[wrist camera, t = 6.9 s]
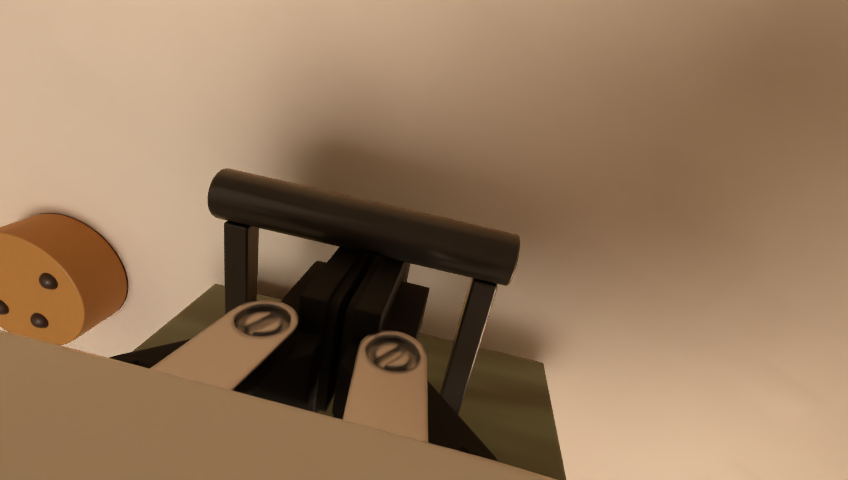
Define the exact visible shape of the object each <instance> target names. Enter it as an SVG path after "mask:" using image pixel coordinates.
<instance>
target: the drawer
mask: <svg viewBox="0 0 848 480" xmlns="http://www.w3.org/2000/svg"><path fill="white" fill-rule="evenodd" d="M208 207H209V210H210V212H211V214H212V215H213V216H214V217H216V218H219V219H223V220H228V221H227V222H225V223H224V265H225V286H223V285H219V284H214V285H213V286H212V287H211V288H210V289H208V290H207V291H206V292H205V293H203V294H202V295H201V296H200V297H199V298H197V299H196V300H195V301H194V302H192V303H191V304H190V305H189V306H188V307H186V308H185V309H184V310H183V311H181V312H180V313H179V314H178V315H177V316H175V317H174V318H173V319H172V320H170V321H169V322H168V323H167V324H166V325H164V326H163V327H162V328H161V329H159V330H158V331H157V332H156V333H155V334H153V335H152V336H151V337H150V338H148V339H147V340H146V341H145V342H144V343H142V344H141V345H140V346H139V347H137V348H136V349H135V350H134V351H133V352H135V351H139V350H144V349H148V348H152V347H157V346H161V345H166V344H170V343H175V342H179V341H183V340H188V339H192V338H193V337H195V336H196V335H198V334H199V333H200V332H202V331H203V330H205V329H206V328H207V327H209V326H210V325H212V324H213V323H214V322H216V321H217V320H219V319H220V318H222V317H223V316H224V315H226V314H227V313H229V312H230V311H231V310H233V309H234V308H236V307H238V306H240V305H242V304H244V303H248V302H251V301H258V300H274V301H278V302H281V299H277V298H273V297H269V296H264V295H260V294H257V276H258V241H259V228H262V229H266V230H270V231H275V232H279V233H283V234H287V235H292V236H296V237H300V238H304V239H309V240H313V241H317V242H322V243H326V244H330V245H334V246H339V247H343V248H347V249H351V250H356V251H360V252H364V253H368V254H373V255H377V256H381V257H385V258H390V259H394V260H398V261H403V262H407V263H411V264H415V265H420V266H424V267H428V268H432V269H437V270H441V271H445V272H449V273H454V274H458V275H462V276H466V277H471V280H470V283H469V287H468V291H467V294H466V298H465V302H464V305H463V309H462V313H461V316H460V320H459V324H458V327H457V331H456V335H455V338H454V341H450V340H446V339H442V338H438V337H434V336H430V335H425V334H421V333H419V336H418V340H417V341H419V342H420V343H421V344H422V346H423V347H424V349H425V350H426V355H427V380H428V381H429V383H430V384H431V385H432V386H433V387H434V388H435V389H436V390H437V392H438V393H439V394H440V395H441V396H442V397H443V398H444V399H445V401H446V402H447V403H448V404H449V405H450V406H451V407H452V408H453V410H454V411H455V412H456V413H457V414H458V415H459V416H460V417H461V419H462V420H463V421H464V422H465V423H466V424H467V425H468V426H469V428H470V429H471V430H472V431H473V432H474V433H475V434H476V436H477V437H478V438H479V439H480V440H481V441H482V442H483V443H484V445H485V446H486V447H487V448H488V449H489V450H490V451H491V452H492V454H493V455H494V456H495V457H496V459H497V460H498V462H501V463H504V464H507V465H511V466H514V467H517V468H520V469H524V470H527V471H530V472H534V473H537V474H540V475H543V476H547V477H550V478H553V479H557V480H566V476H565V471H564V466H563V461H562V456H561V451H560V446H559V440H558V435H557V430H556V425H555V420H554V415H553V410H552V405H551V400H550V395H549V390H548V385H547V380H546V374H545V369H544V364H543V363H541V362H537V361H533V360H529V359H525V358H520V357H516V356H512V355H508V354H504V353H500V352H496V351H492V350H487V349H483V348H479V346H480V343H481V340H482V336H483V333H484V330H485V327H486V323H487V320H488V317H489V314H490V310H491V307H492V304H493V301H494V297H495V294H496V291H497V284H501V285H505V286H506V285H508V284H509V283H510V282H511V280H512V278H513V275H514V272H515V269H516V265H517V261H518V257H519V250H520V237H519V235H517V234H513V233H509V232H504V231H500V230H496V229H491V228H487V227H482V226H478V225H474V224H469V223H465V222H461V221H456V220H452V219H447V218H443V217H439V216H434V215H430V214H426V213H421V212H417V211H412V210H408V209H404V208H399V207H395V206H391V205H386V204H382V203H377V202H373V201H369V200H364V199H360V198H355V197H351V196H347V195H342V194H338V193H334V192H329V191H325V190H320V189H316V188H312V187H307V186H303V185H299V184H294V183H290V182H285V181H281V180H277V179H272V178H268V177H264V176H259V175H255V174H250V173H246V172H242V171H237V170H233V169H228V168H227V169H222V170H220V171H219V172H218V173H217V174H216V175H215V177H214V178H213V180H212V182H211V185H210V188H209V192H208ZM333 401H334V397H333V400H332V402H331V404H330V406H329V408H328V410H327V411H326V412H323V411H319V412H318V413H319V414H323V415H327V416H331V417H333V415H334V414H332V409H333Z"/></svg>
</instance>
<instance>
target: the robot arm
mask: <svg viewBox="0 0 848 480" xmlns="http://www.w3.org/2000/svg"><path fill="white" fill-rule="evenodd" d="M409 267H410V263H407V262H403V261H398V260H394V259H390V258H385V257H381V256H377V255H373V254H368V253H364V252H360V251H356V250H351V249H347V248H343V247H339V248H338V250H337V251H336V252H335V253H334V255H333V256H332V257H331V258H330V259H329V261H328V262H327V263H325V262H321V261H316V262H315V263H314V264H313V265H312V266H311V267H310V269H309V270H308V271H307V272H306V273H305V274H304V275H303V277H302V278H301V279H300V280H299V281H298V282H297V283H296V284H295V286H294V287H293V288H292V289H291V290H290V291H289V292H288V294H287V295H286V296H285V297H284V298H283V299H282V300H281V302H278V301H274V300H258V301H251V302H248V303H244V304H242V305H240V306H238V307H236V308H234V309H233V310H231V311H230V312H229V313H227V314H226V315H224V316H223V317H222V318H220V319H219V320H217V321H216V322H214V323H213V324H212V325H210V326H209V327H207V328H206V329H205V330H203V331H202V332H200V333H199V334H198V335H196V336H195V337H193V338H192V339H188V340H183V341H179V342H175V343H170V344H166V345H161V346H157V347H152V348H148V349H144V350H139V351H135V352H130V353H126V354H121V355H117V356H113V357H110V358H107V357H103V356H99V355H95V354H91V353H87V352H84V351H80V350H76V349H72V348H68V347H64V346H60V345H56V344H53V343H49V342H45V341H41V340H37V339H33V338H29V337H25V336H22V335H18V334H14V333H9V332H5V331H0V480H557V479H553V478H550V477H547V476H543V475H540V474H537V473H534V472H530V471H527V470H524V469H520V468H517V467H514V466H511V465H507V464H504V463H501V462H498V460H497V459H496V457H495V456H494V455H493V454H492V452H491V451H490V450H489V449H488V448H487V447H486V446H485V445H484V443H483V442H482V441H481V440H480V439H479V438H478V437H477V436H476V434H475V433H474V432H473V431H472V430H471V429H470V428H469V426H468V425H467V424H466V423H465V422H464V421H463V420H462V419H461V417H460V416H459V415H458V414H457V413H456V412H455V411H454V410H453V408H452V407H451V406H450V405H449V404H448V403H447V402H446V401H445V399H444V398H443V397H442V396H441V395H440V394H439V393H438V392H437V390H436V389H435V388H434V387H433V386H432V385H431V384H430V383H429V381H428V380H427V355H426V350H425V349H424V347H423V346H422V344H421V343H420V342H419V341H417V340H418V336H419V332H420V328H421V323H422V319H423V315H424V311H425V306H426V302H427V298H428V293H429V288H428V287H424V286H420V285H416V284H412V283H408V282H407V277H408V272H409ZM333 397H334V401H333V409H332V414H334V415H333V417H331V416H327V415H323V414H319V413H318V412H319V411H323V412H326V411H327V410H328V408H329V406H330V404H331V402H332V400H333Z"/></svg>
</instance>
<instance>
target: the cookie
mask: <svg viewBox="0 0 848 480" xmlns="http://www.w3.org/2000/svg"><path fill="white" fill-rule="evenodd" d="M126 293H127V281H126V276H125V272H124V269H123V267H122V264H121V262H120V260H119V259H118V257H117V255H116V254H115V252H114V251H113V249H112V248H111V247H110V246H109V244H108V243H107V242H106V241H105V240H104V239H103V238H102V237H101V236H100V235H99V234H97V233H96V232H95V231H94V230H92V229H91V228H89V227H88V226H86V225H85V224H83V223H81V222H79V221H77V220H75V219H72V218H70V217H67V216H63V215H58V214H40V215H36V216H33V217H30V218H27V219H24V220H21V221H18V222H15V223H12V224H9V225H6V226H3V227H0V327H2V328H3V329H5V330H6V331H8V332H9V333H14V334H18V335H22V336H25V337H29V338H33V339H37V340H41V341H45V342H49V343H53V344H56V345H64V344H67V343H69V342H71V341H73V340H75V339H76V338H78V337H79V336H81V335H82V334H84V333H85V332H87V331H88V330H89V329H91V328H92V327H94V326H95V325H97V324H98V323H100V322H101V321H103V320H104V319H106V318H107V317H109V316H110V315H112V314H113V313H115V312H116V311H117V310H118V309H119V308H120V307H121V306H122V304H123V302H124V300H125V297H126Z"/></svg>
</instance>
